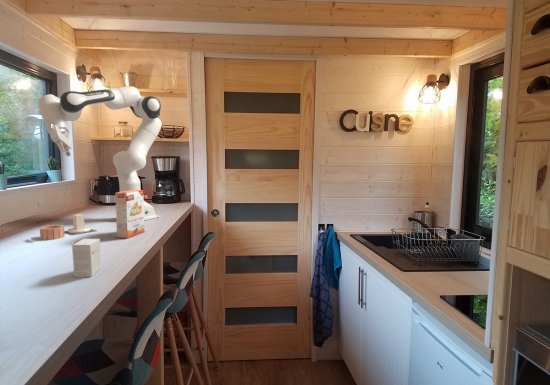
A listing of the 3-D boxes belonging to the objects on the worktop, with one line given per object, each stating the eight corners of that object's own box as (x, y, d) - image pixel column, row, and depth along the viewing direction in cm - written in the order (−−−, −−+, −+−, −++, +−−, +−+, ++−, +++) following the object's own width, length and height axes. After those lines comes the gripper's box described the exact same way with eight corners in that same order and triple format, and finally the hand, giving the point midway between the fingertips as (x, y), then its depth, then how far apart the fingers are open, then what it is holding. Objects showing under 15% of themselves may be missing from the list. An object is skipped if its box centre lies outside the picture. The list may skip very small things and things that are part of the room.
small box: (84, 269, 120) (82, 238, 119) (101, 268, 121) (100, 238, 120) (73, 277, 112) (71, 244, 111) (91, 277, 113) (90, 244, 112)
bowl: (59, 235, 166) (58, 224, 166) (67, 238, 161) (67, 226, 160) (37, 238, 159) (36, 227, 159) (45, 242, 154) (44, 230, 153)
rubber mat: (86, 228, 181) (86, 227, 181) (97, 231, 174) (97, 230, 174) (60, 232, 171) (60, 231, 171) (71, 236, 164) (71, 235, 164)
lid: (85, 228, 179) (84, 212, 178) (94, 230, 173) (93, 214, 172) (63, 231, 172) (62, 215, 171) (73, 234, 166) (72, 217, 165)
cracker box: (128, 238, 161) (126, 192, 158) (116, 238, 162) (114, 192, 159) (145, 231, 174) (143, 189, 172) (134, 231, 176) (132, 189, 173)
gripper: (56, 118, 165) (66, 146, 165) (69, 131, 185) (78, 156, 185) (41, 122, 164) (51, 150, 163) (56, 134, 183) (65, 160, 183)
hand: (65, 153), depth 174 cm, fingers open, 8 cm apart
